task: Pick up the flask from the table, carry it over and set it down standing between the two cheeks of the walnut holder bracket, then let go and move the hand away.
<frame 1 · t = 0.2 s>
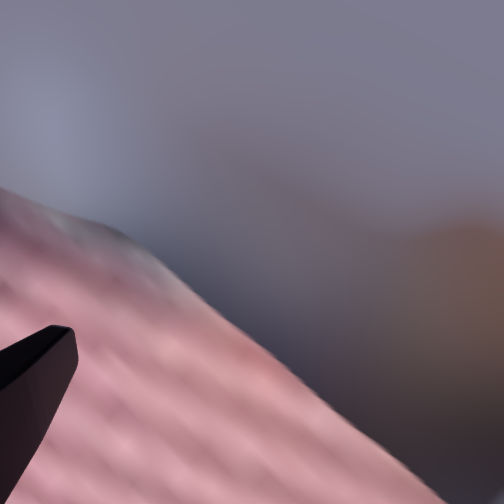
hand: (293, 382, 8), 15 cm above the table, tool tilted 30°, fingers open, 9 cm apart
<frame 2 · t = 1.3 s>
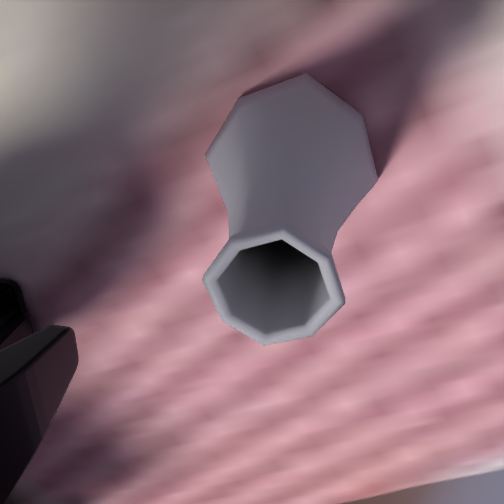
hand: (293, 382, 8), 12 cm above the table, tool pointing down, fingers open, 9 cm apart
flask: (291, 163, 18), on the table
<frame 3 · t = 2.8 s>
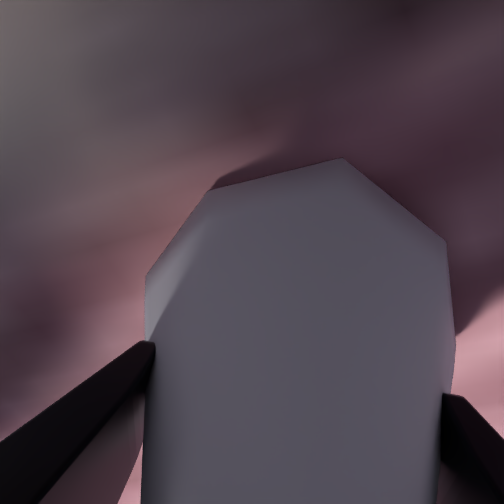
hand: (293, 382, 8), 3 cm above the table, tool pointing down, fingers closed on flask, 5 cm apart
flask: (299, 298, 10), on the table, touching gripper
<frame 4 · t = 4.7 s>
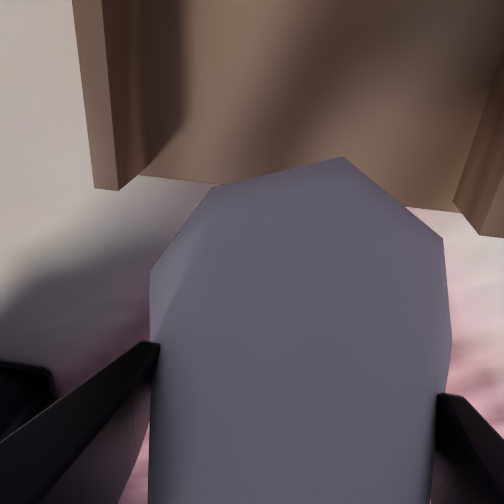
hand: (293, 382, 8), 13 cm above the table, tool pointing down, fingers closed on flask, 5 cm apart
holder: (313, 49, 17), on the table
flask: (299, 293, 11), point 10 cm above the table, touching gripper
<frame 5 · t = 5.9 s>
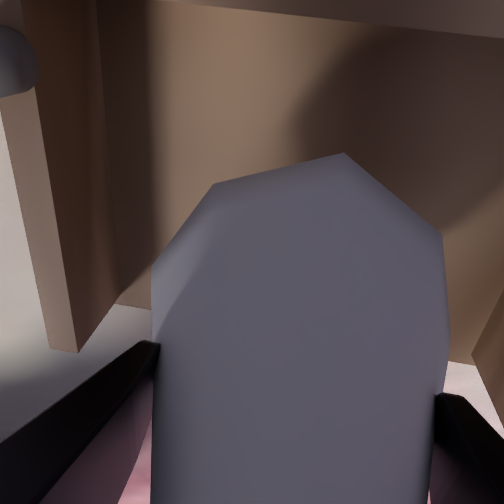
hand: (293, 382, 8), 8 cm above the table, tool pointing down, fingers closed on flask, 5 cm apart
holder: (313, 188, 14), on the table
flask: (300, 289, 11), point 4 cm above the table, touching gripper
when the fingers open (4 cm above the table, at t = 6.9 s): flask stays where it is, resting on holder.
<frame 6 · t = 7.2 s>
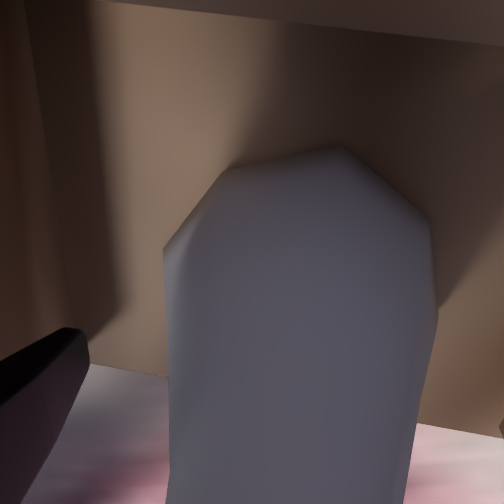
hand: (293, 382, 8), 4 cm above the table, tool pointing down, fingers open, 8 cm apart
holder: (308, 232, 11), on the table
flask: (300, 272, 11), resting on holder
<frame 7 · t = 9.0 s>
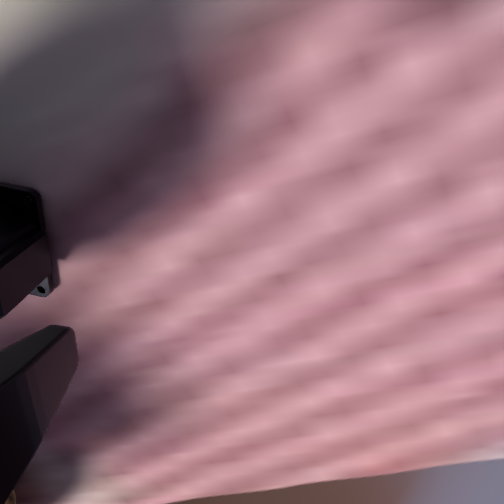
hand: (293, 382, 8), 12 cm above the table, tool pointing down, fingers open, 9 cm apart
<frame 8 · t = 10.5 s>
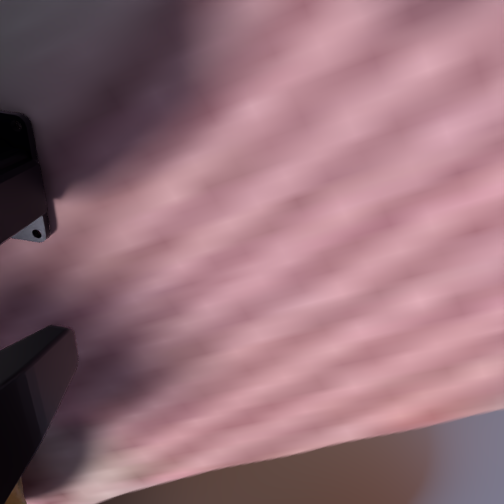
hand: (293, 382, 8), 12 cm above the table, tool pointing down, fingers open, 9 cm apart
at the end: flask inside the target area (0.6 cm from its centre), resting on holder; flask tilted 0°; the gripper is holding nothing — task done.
